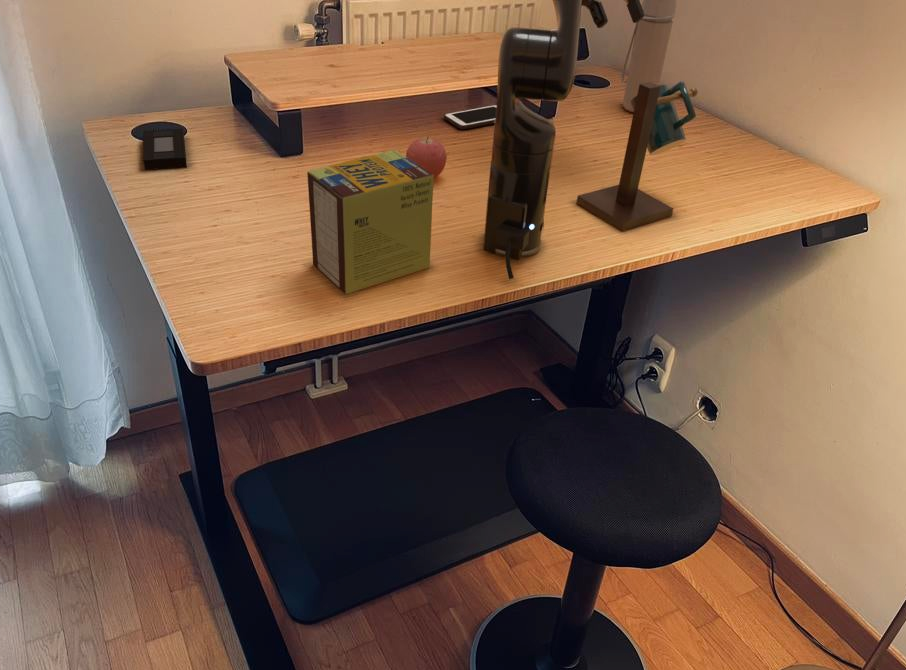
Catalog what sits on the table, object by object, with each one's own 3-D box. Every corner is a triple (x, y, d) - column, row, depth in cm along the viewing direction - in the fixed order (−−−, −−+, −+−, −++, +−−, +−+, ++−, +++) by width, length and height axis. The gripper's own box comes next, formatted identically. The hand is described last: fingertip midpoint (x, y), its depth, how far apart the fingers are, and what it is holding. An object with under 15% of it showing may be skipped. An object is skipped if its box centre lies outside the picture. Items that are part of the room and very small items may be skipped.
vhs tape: (144, 170, 145) (142, 160, 144) (145, 140, 156) (143, 130, 154) (186, 167, 147) (185, 157, 145) (184, 138, 157) (182, 128, 156)
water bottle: (660, 109, 182) (686, -8, 166) (642, 117, 177) (667, -3, 161) (626, 99, 186) (649, -17, 171) (607, 106, 182) (629, -12, 166)
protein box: (431, 267, 122) (435, 173, 112) (345, 296, 115) (342, 198, 105) (394, 239, 129) (395, 148, 119) (310, 264, 121) (305, 169, 112)
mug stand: (622, 231, 134) (649, 102, 120) (576, 203, 142) (597, 79, 128) (694, 209, 142) (728, 85, 128) (647, 183, 150) (674, 64, 136)
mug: (642, 158, 139) (623, 105, 139) (668, 151, 142) (649, 99, 142) (686, 131, 129) (665, 74, 129) (713, 125, 132) (693, 69, 132)
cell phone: (441, 118, 171) (442, 114, 171) (497, 108, 178) (497, 104, 177) (461, 130, 166) (461, 126, 166) (517, 119, 172) (517, 115, 172)
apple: (418, 166, 151) (419, 125, 146) (451, 176, 149) (454, 134, 144) (398, 180, 146) (398, 138, 141) (432, 190, 144) (434, 147, 139)
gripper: (570, -76, 132) (604, 14, 132) (632, -80, 138) (664, 6, 138) (546, -47, 138) (578, 39, 138) (606, -52, 145) (637, 30, 145)
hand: (621, 22), depth 138 cm, fingers open, 8 cm apart
